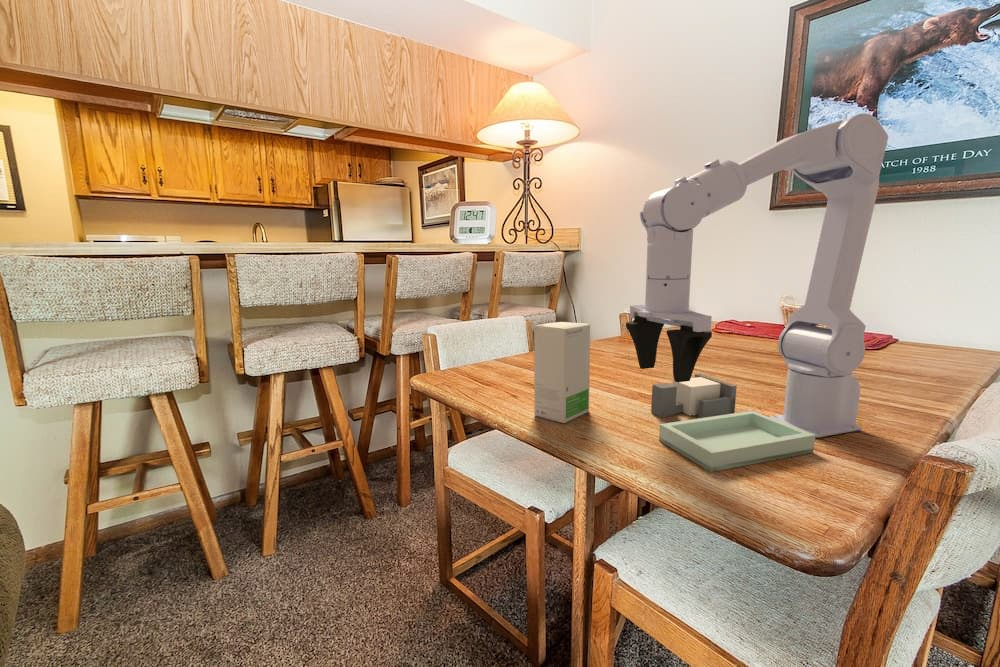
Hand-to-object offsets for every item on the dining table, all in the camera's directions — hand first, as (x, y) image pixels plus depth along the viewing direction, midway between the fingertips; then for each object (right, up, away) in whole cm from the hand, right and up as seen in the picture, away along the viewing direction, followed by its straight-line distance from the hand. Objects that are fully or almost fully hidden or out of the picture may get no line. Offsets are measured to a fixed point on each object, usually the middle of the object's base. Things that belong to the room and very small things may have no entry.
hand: (663, 374), depth 62 cm
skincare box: (-13, -8, +13) cm, 20 cm away
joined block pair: (+8, -8, +13) cm, 17 cm away
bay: (+12, -7, +14) cm, 20 cm away
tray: (+9, -10, -1) cm, 14 cm away
